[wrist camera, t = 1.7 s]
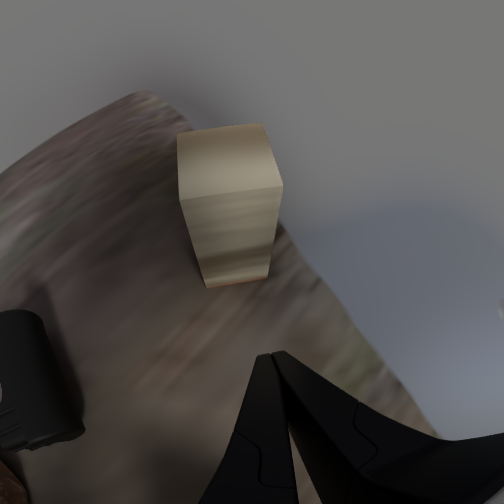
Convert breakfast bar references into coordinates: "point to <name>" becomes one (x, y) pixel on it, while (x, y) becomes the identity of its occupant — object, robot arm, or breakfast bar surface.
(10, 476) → the decorative rock
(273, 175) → the beech block
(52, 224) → the breakfast bar surface
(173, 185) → the breakfast bar surface
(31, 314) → the end cap
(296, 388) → the robot arm
